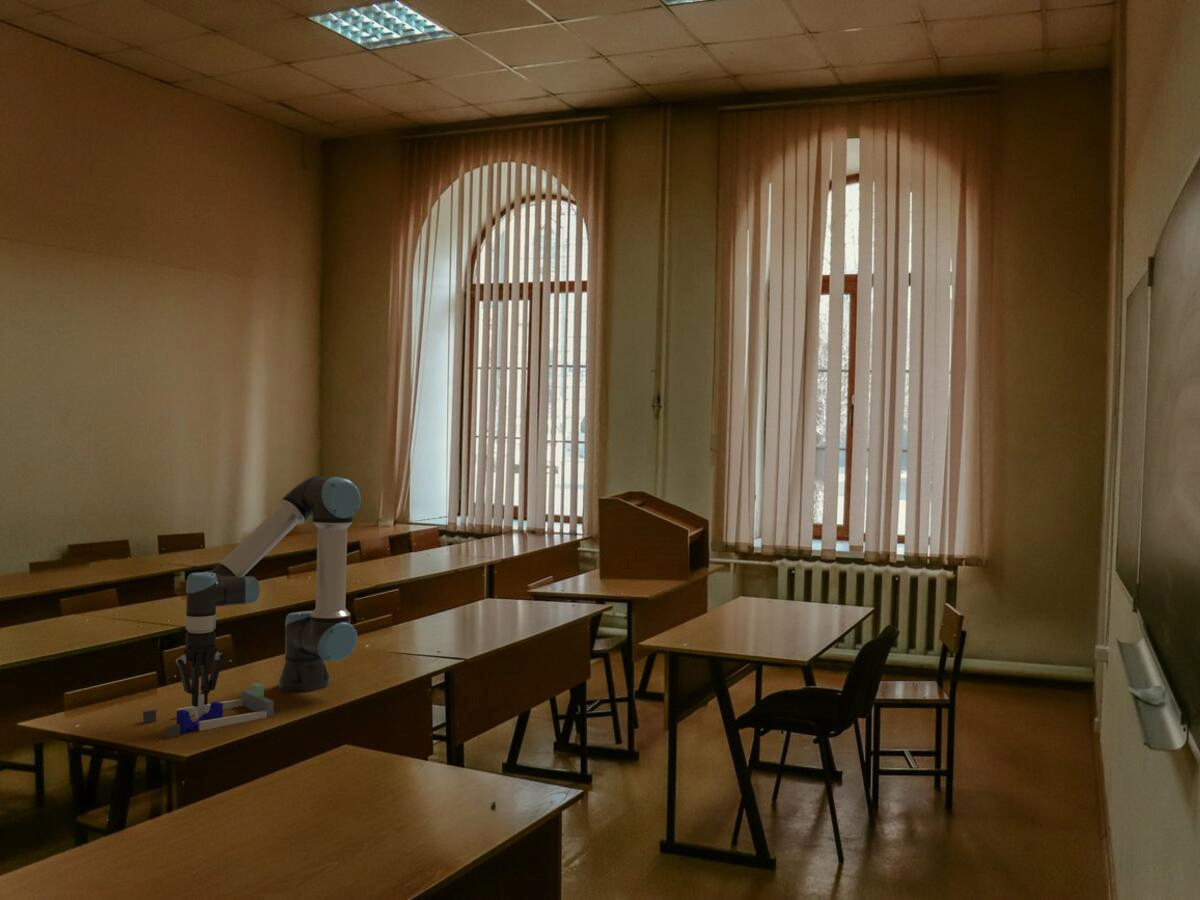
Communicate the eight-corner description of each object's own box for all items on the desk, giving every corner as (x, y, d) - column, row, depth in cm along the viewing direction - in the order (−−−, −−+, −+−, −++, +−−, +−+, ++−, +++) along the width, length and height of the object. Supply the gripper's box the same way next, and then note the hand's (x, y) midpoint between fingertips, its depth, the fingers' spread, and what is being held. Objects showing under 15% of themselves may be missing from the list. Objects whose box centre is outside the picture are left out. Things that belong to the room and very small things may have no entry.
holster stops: (154, 720, 278) (154, 709, 278) (179, 736, 263) (180, 725, 263) (143, 722, 276) (143, 711, 276) (167, 738, 261) (168, 727, 261)
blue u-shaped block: (211, 722, 278) (211, 700, 278) (222, 725, 275) (222, 703, 275) (172, 732, 267) (173, 709, 267) (183, 735, 265) (184, 712, 265)
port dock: (248, 706, 294) (248, 678, 294) (273, 719, 281) (273, 690, 281) (176, 717, 281) (177, 688, 281) (199, 732, 268) (200, 701, 268)
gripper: (219, 625, 283) (218, 711, 283) (171, 630, 275) (169, 718, 275) (230, 629, 278) (228, 716, 278) (180, 635, 269) (179, 724, 269)
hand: (199, 717), depth 276 cm, fingers closed
